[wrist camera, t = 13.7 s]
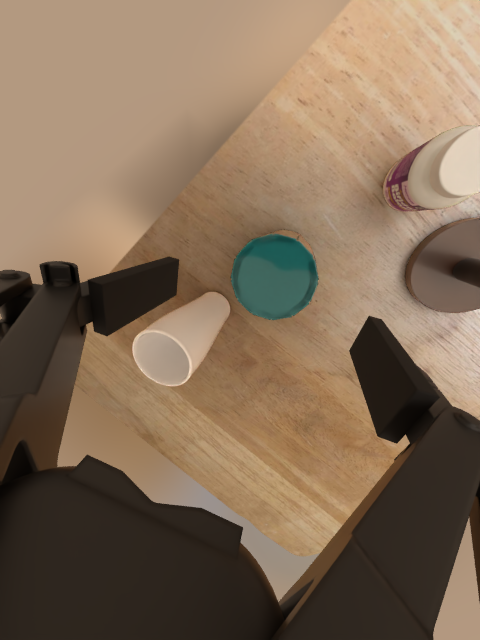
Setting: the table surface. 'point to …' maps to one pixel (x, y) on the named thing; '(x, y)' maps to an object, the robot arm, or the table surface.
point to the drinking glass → (180, 339)
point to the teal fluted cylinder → (275, 275)
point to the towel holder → (447, 268)
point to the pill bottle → (436, 172)
